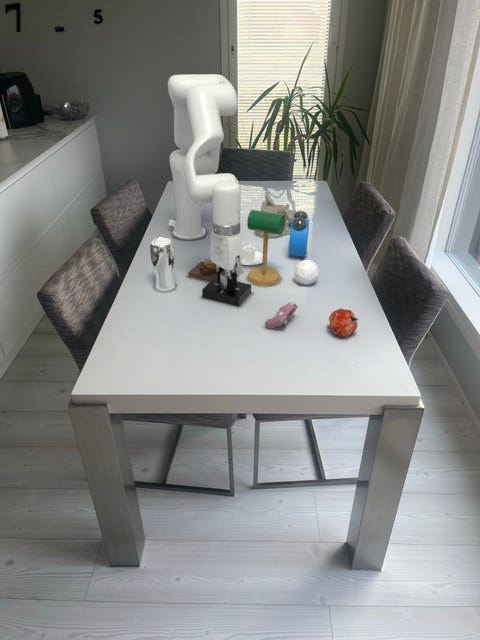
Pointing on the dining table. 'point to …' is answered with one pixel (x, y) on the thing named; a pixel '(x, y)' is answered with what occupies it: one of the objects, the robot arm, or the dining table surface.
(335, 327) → the pomegranate
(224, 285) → the dimmer knob
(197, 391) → the dining table surface
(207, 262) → the button
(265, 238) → the desk lamp
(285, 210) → the ceramic cottage
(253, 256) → the candle holder
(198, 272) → the switch block
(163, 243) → the beer glass
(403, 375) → the dining table surface
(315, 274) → the geometric ball
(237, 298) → the dimmer panel
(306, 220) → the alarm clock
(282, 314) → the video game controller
